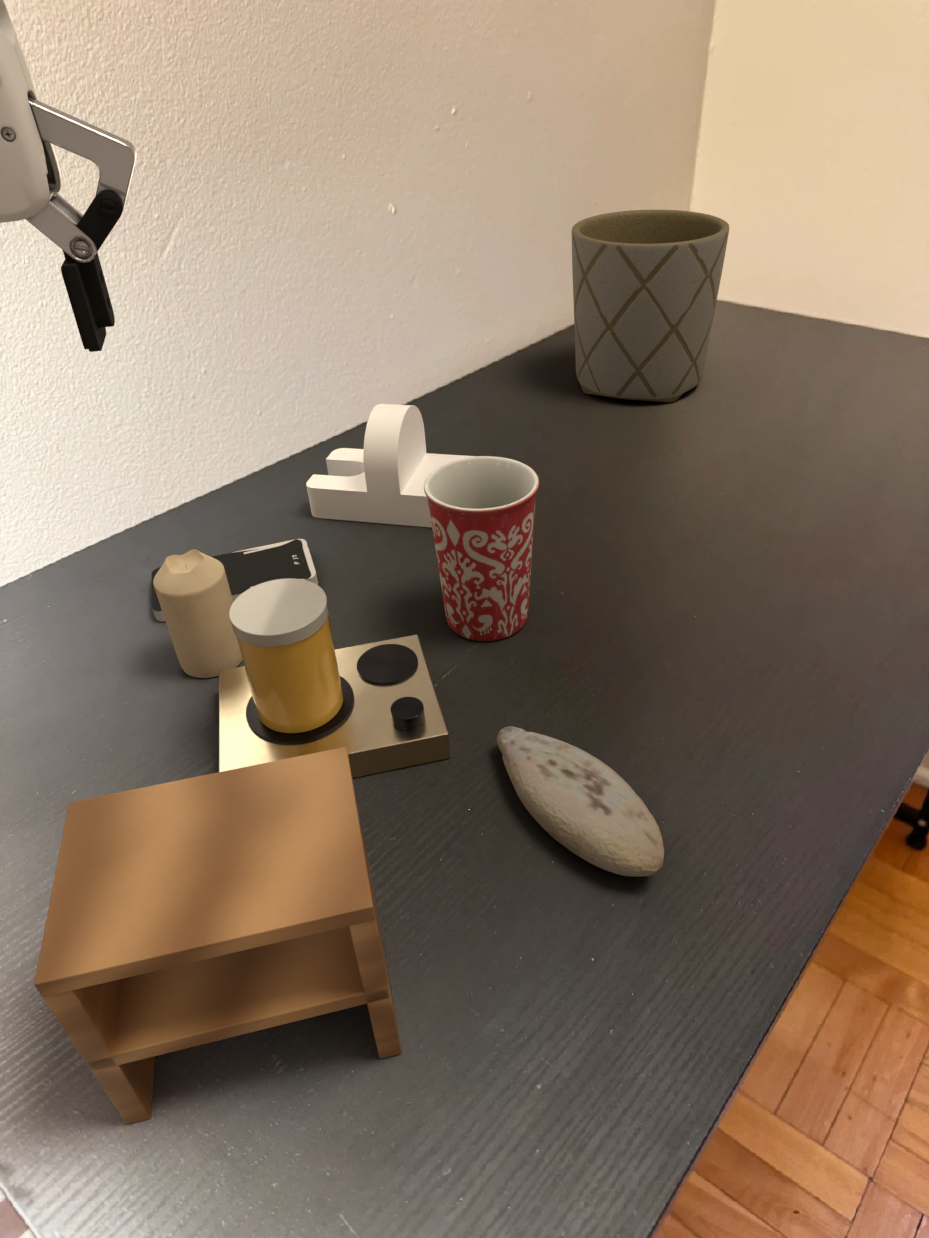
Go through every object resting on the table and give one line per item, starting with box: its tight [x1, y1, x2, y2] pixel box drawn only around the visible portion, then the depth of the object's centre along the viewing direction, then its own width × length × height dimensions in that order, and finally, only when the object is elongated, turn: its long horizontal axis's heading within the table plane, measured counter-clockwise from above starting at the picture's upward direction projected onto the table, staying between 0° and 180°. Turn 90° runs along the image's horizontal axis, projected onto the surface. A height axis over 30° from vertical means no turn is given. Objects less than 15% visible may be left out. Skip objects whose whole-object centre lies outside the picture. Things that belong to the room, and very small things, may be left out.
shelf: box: [33, 747, 403, 1125], centre depth 43 cm, size 14×10×13 cm
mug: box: [424, 455, 540, 642], centre depth 72 cm, size 13×9×14 cm
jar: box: [229, 578, 343, 733], centre depth 60 cm, size 7×7×9 cm
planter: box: [571, 209, 730, 404], centre depth 110 cm, size 19×19×20 cm
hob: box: [218, 634, 451, 779], centre depth 63 cm, size 16×12×4 cm
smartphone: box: [150, 538, 319, 623], centre depth 80 cm, size 8×1×15 cm
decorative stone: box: [496, 725, 665, 877], centre depth 56 cm, size 6×16×3 cm, turn 37°
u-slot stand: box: [305, 403, 477, 528], centre depth 89 cm, size 10×18×11 cm, turn 76°
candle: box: [153, 548, 243, 679], centre depth 69 cm, size 6×6×10 cm
